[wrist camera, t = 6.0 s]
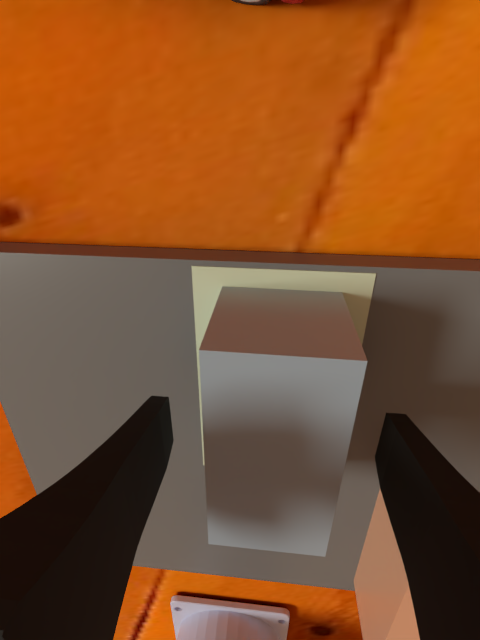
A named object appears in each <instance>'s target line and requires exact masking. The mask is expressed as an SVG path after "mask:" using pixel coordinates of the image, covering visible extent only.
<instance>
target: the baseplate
mask: <svg viewBox="0 0 480 640" xmlns="http://www.w3.org/2000/svg"><path fill="white" fill-rule="evenodd" d="M222 286H226V287H246V288H266V289H286V290H306V291H325V292H342V293H343V296H344V299H345V302H346V304H347V307H348V310H349V312H350V315H351V318H352V320H353V323H354V326H355V329H356V331H357V334H358V337H359V339H360V342H361V345H362V347H363V350H364V353H365V355H366V358H367V366H366V371H365V375H364V380H363V385H362V389H361V394H360V398H359V403H358V408H357V412H356V417H355V422H354V426H353V431H352V435H351V440H350V445H349V449H348V454H347V459H346V463H345V468H344V472H343V477H342V482H341V486H340V491H339V496H338V500H337V505H336V509H335V514H334V519H333V523H332V528H331V533H330V537H329V542H328V546H327V551H326V556H325V557H323V556H313V555H304V554H295V553H286V552H277V551H268V550H259V549H249V548H240V547H231V546H222V545H213V544H208V525H207V504H206V484H205V464H204V444H203V423H202V403H201V383H200V362H199V348H200V346H201V343H202V340H203V338H204V335H205V332H206V329H207V327H208V324H209V321H210V318H211V316H212V313H213V310H214V308H215V305H216V302H217V299H218V297H219V294H220V291H221V288H222ZM151 396H163V397H169V403H170V412H171V421H172V430H173V439H174V441H173V445H172V450H171V454H170V458H169V462H168V466H167V469H166V472H165V475H164V477H163V480H162V483H161V485H160V488H159V491H158V493H157V496H156V499H155V501H154V504H153V507H152V509H151V512H150V514H149V517H148V520H147V522H146V525H145V528H144V530H143V533H142V536H141V539H140V542H139V545H138V548H137V551H136V554H135V558H134V561H133V565H132V566H141V567H150V568H159V569H167V570H176V571H185V572H194V573H203V574H212V575H220V576H229V577H238V578H247V579H256V580H264V581H273V582H282V583H291V584H300V585H309V586H317V587H326V588H335V589H344V590H353V591H355V587H354V577H355V574H356V570H357V567H358V563H359V560H360V556H361V553H362V549H363V546H364V542H365V539H366V535H367V532H368V528H369V525H370V521H371V518H372V514H373V511H374V507H375V504H376V500H377V497H378V493H379V490H380V485H379V479H378V474H377V468H376V462H375V454H376V450H377V446H378V442H379V438H380V435H381V431H382V427H383V423H384V419H385V415H386V413H399V414H406V415H407V416H408V417H409V418H410V419H411V420H412V422H413V423H414V424H415V425H416V426H417V427H418V428H419V429H420V431H421V432H422V433H423V434H424V435H425V436H426V437H427V438H428V440H429V441H430V442H431V443H432V444H433V445H434V446H435V447H436V448H437V450H438V451H439V452H440V453H441V454H442V455H443V456H444V457H445V458H446V459H447V460H448V461H449V462H450V464H451V465H452V466H453V467H454V468H455V469H456V470H457V471H458V472H459V473H460V474H461V475H462V476H463V477H464V478H465V479H466V480H467V481H468V482H469V483H470V484H471V485H472V486H473V487H474V488H475V489H476V490H477V491H478V492H479V493H480V259H453V258H425V257H398V256H371V255H344V254H316V253H289V252H262V251H235V250H207V249H180V248H153V247H126V246H98V245H71V244H44V243H17V242H0V402H1V404H2V407H3V409H4V412H5V414H6V417H7V419H8V422H9V424H10V427H11V429H12V432H13V434H14V437H15V440H16V442H17V445H18V447H19V450H20V452H21V455H22V457H23V460H24V462H25V465H26V467H27V470H28V473H29V475H30V478H31V480H32V483H33V485H34V488H35V490H36V493H37V495H38V494H40V493H41V492H43V491H44V490H46V489H47V488H48V487H50V486H51V485H53V484H54V483H55V482H57V481H58V480H59V479H61V478H62V477H63V476H65V475H66V474H67V473H69V472H70V471H71V470H72V469H74V468H75V467H76V466H77V465H79V464H80V463H81V462H82V461H83V460H85V459H86V458H87V457H88V456H89V455H90V454H91V453H93V452H94V451H95V450H96V449H97V448H98V447H99V446H101V445H102V444H103V443H104V442H105V441H106V440H107V439H108V438H109V437H110V436H111V435H112V434H113V433H114V432H115V431H117V430H118V429H119V428H120V427H121V426H122V425H123V424H124V423H125V422H126V421H127V420H128V419H129V418H130V417H131V416H132V415H133V414H134V413H135V412H136V411H137V410H138V408H139V407H140V406H141V405H142V404H143V403H144V402H145V401H146V400H147V399H148V398H149V397H151Z"/></svg>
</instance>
